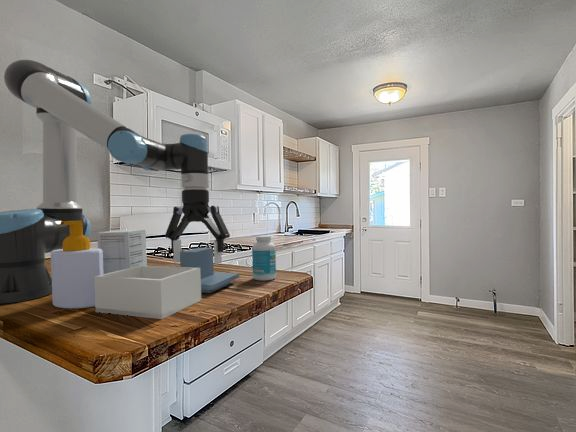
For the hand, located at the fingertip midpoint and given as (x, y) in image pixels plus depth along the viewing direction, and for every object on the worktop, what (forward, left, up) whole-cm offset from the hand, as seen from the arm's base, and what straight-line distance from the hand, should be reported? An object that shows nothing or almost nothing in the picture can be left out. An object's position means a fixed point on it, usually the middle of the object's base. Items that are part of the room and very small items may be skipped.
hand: (197, 262), depth 93 cm
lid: (0, 0, -7) cm, 7 cm away
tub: (0, -19, -7) cm, 20 cm away
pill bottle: (+15, +14, -7) cm, 22 cm away
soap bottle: (-19, -22, -7) cm, 30 cm away
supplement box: (-20, -7, -7) cm, 22 cm away
